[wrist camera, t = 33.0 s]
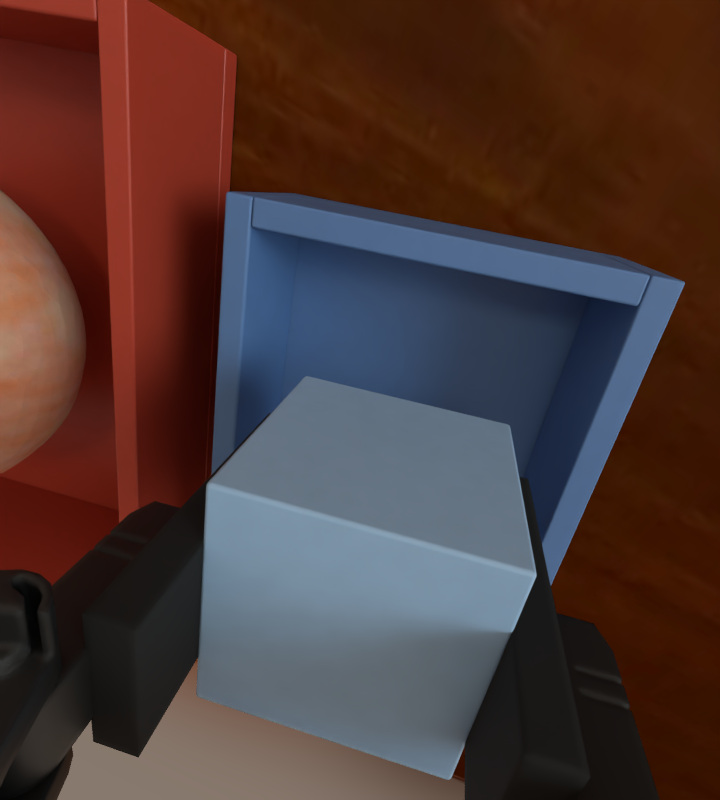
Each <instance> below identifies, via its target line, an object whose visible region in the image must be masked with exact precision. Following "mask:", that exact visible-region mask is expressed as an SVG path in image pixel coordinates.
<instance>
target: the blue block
mask: <svg viewBox="0 0 720 800" xmlns="http://www.w3.org/2000/svg"><path fill="white" fill-rule="evenodd" d="M536 576H537V574H536V568H535V562H534V557H533V551H532V546H531V540H530V534H529V529H528V523H527V518H526V512H525V507H524V501H523V496H522V490H521V484H520V479H519V473H518V468H517V462H516V457H515V451H514V446H513V440H512V434H511V429H510V426H509V425H508V424H504V423H500V422H496V421H491V420H487V419H483V418H479V417H475V416H471V415H467V414H462V413H458V412H454V411H450V410H446V409H442V408H438V407H433V406H429V405H425V404H421V403H417V402H413V401H408V400H404V399H400V398H396V397H392V396H388V395H384V394H379V393H375V392H371V391H367V390H363V389H359V388H355V387H350V386H346V385H342V384H338V383H334V382H330V381H325V380H321V379H317V378H313V377H309V376H305V377H304V378H303V379H302V380H301V381H300V383H299V384H298V385H297V386H296V387H295V388H294V389H293V390H292V391H291V392H290V393H289V395H288V396H287V397H286V398H285V399H284V400H283V401H282V402H281V403H280V404H279V405H278V406H277V408H276V409H275V410H274V411H273V412H272V413H271V414H270V415H269V416H268V417H267V418H266V420H265V421H264V422H263V423H262V424H261V425H260V426H259V427H258V428H257V429H256V430H255V432H254V433H253V434H252V435H251V436H250V437H249V438H248V439H247V440H246V441H245V442H244V444H243V445H242V446H241V447H240V448H239V449H238V450H237V451H236V452H235V453H234V454H233V456H232V457H231V458H230V459H229V460H228V461H227V462H226V463H225V464H224V465H223V466H222V467H221V469H220V470H219V471H218V472H217V473H216V474H215V475H214V476H213V477H212V478H211V479H210V481H209V482H208V483H207V485H206V502H205V523H204V544H203V565H202V586H201V607H200V628H199V649H198V670H197V691H196V694H197V696H198V697H200V698H203V699H206V700H209V701H212V702H215V703H218V704H221V705H224V706H227V707H230V708H233V709H236V710H239V711H242V712H245V713H248V714H251V715H254V716H257V717H260V718H263V719H266V720H269V721H272V722H275V723H278V724H281V725H284V726H287V727H290V728H293V729H296V730H299V731H302V732H305V733H308V734H311V735H314V736H317V737H320V738H323V739H326V740H329V741H332V742H335V743H338V744H341V745H345V746H347V747H350V748H353V749H356V750H359V751H362V752H365V753H368V754H371V755H374V756H377V757H380V758H384V759H386V760H389V761H393V762H396V763H399V764H402V765H405V766H408V767H411V768H414V769H417V770H420V771H423V772H426V773H429V774H432V775H435V776H438V777H441V778H444V779H451V777H452V775H453V772H454V770H455V768H456V765H457V763H458V761H459V758H460V756H461V753H462V751H463V749H464V746H465V742H466V740H467V737H468V735H469V732H470V730H471V728H472V725H473V723H474V721H475V718H476V716H477V713H478V711H479V709H480V706H481V704H482V702H483V699H484V697H485V695H486V692H487V690H488V687H489V685H490V683H491V680H492V678H493V676H494V673H495V671H496V668H497V666H498V664H499V661H500V659H501V657H502V654H503V652H504V649H505V647H506V645H507V642H508V640H509V638H510V635H511V633H512V632H513V630H514V628H515V626H516V623H517V621H518V619H519V616H520V614H521V612H522V609H523V607H524V605H525V602H526V600H527V597H528V595H529V593H530V590H531V588H532V586H533V583H534V581H535V579H536Z"/></svg>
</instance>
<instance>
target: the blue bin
mask: <svg viewBox="0 0 720 800" xmlns="http://www.w3.org/2000/svg"><path fill="white" fill-rule="evenodd" d="M684 284H685V282H683V281H681V280H679V279H676V278H674V277H671V276H668V275H666V274H663V273H661V272H658V271H655V270H653V269H650V268H648V267H645V266H643V265H640V264H637V263H635V262H632V261H630V260H626V259H624V258H621V257H618V256H613V255H608V254H603V253H597V252H592V251H587V250H582V249H577V248H572V247H567V246H562V245H556V244H551V243H546V242H541V241H536V240H531V239H526V238H520V237H515V236H510V235H505V234H500V233H495V232H490V231H485V230H479V229H474V228H469V227H464V226H459V225H454V224H449V223H443V222H438V221H433V220H428V219H423V218H418V217H413V216H408V215H402V214H397V213H392V212H387V211H382V210H377V209H372V208H366V207H361V206H356V205H351V204H346V203H341V202H336V201H331V200H325V199H320V198H315V197H310V196H305V195H300V194H295V193H266V192H227V193H226V203H225V222H224V241H223V261H222V280H221V299H220V318H219V337H218V357H217V376H216V395H215V414H214V433H213V452H212V472H211V475H212V474H213V473H214V472H215V471H216V469H217V468H218V467H219V466H220V465H221V464H222V463H223V462H224V461H225V460H226V459H227V458H228V457H229V455H230V454H231V453H232V452H233V451H234V450H235V449H236V448H237V447H238V446H239V445H240V444H241V443H242V442H243V440H244V439H245V438H246V437H247V436H248V435H249V434H250V433H251V432H252V431H253V430H254V429H255V428H256V427H257V425H258V424H259V423H260V422H261V421H262V420H263V419H264V418H265V417H266V416H267V415H268V414H269V413H270V414H271V413H272V412H273V411H274V410H275V409H276V408H277V406H278V405H279V404H280V403H281V402H282V401H283V400H284V399H285V398H286V397H287V396H288V395H289V393H290V392H291V391H292V390H293V389H294V388H295V387H296V386H297V385H298V384H299V383H300V381H301V380H302V379H303V378H304V377H305V376H309V377H313V378H317V379H321V380H325V381H330V382H334V383H338V384H342V385H346V386H350V387H355V388H359V389H363V390H367V391H371V392H375V393H379V394H384V395H388V396H392V397H396V398H400V399H404V400H408V401H413V402H417V403H421V404H425V405H429V406H433V407H438V408H442V409H446V410H450V411H454V412H458V413H462V414H467V415H471V416H475V417H479V418H483V419H487V420H491V421H496V422H500V423H504V424H508V425H509V426H510V429H511V434H512V440H513V446H514V451H515V457H516V462H517V468H518V473H519V477H523V478H527V479H528V480H529V485H530V489H531V494H532V499H533V504H534V509H535V513H536V518H537V523H538V528H539V533H540V537H541V542H542V547H543V552H544V557H545V561H546V566H547V571H548V576H549V581H550V585H551V584H552V582H553V580H554V577H555V575H556V573H557V571H558V568H559V566H560V564H561V562H562V559H563V557H564V555H565V553H566V550H567V548H568V546H569V544H570V541H571V539H572V537H573V535H574V532H575V530H576V528H577V526H578V523H579V521H580V519H581V517H582V514H583V512H584V510H585V508H586V505H587V503H588V501H589V499H590V496H591V494H592V492H593V489H594V487H595V485H596V483H597V480H598V478H599V476H600V474H601V471H602V469H603V467H604V465H605V462H606V460H607V458H608V456H609V453H610V451H611V449H612V447H613V444H614V442H615V440H616V438H617V435H618V433H619V431H620V429H621V426H622V424H623V422H624V420H625V417H626V415H627V413H628V411H629V408H630V406H631V404H632V402H633V399H634V397H635V395H636V393H637V390H638V388H639V386H640V384H641V381H642V379H643V377H644V374H645V372H646V370H647V368H648V365H649V363H650V361H651V359H652V356H653V354H654V352H655V350H656V347H657V345H658V343H659V341H660V338H661V336H662V334H663V332H664V329H665V327H666V325H667V323H668V320H669V318H670V316H671V314H672V311H673V309H674V307H675V305H676V302H677V300H678V298H679V296H680V293H681V291H682V289H683V287H684Z"/></svg>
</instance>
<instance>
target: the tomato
mask: <svg viewBox="0 0 720 800" xmlns="http://www.w3.org/2000/svg"><path fill="white" fill-rule="evenodd" d="M85 360H86V332H85V324H84V318H83V313H82V309H81V305H80V302H79V299H78V296H77V293H76V290H75V287H74V285H73V283H72V280H71V278H70V276H69V274H68V272H67V269H66V268H65V266H64V264H63V263H62V261H61V259H60V258H59V256H58V254H57V252H56V251H55V249H54V247H53V246H52V245H51V243H50V242H49V241H48V239H47V238H46V237H45V235H44V234H43V233H42V231H41V230H40V229H39V228H38V226H37V225H36V224H35V223H34V221H33V220H32V219H31V218H30V217H29V216H28V215H27V214H26V213H25V212H24V211H23V210H22V209H21V208H20V207H19V206H18V205H17V204H16V203H15V202H14V201H13V200H12V199H11V198H10V197H8V196H7V195H6V194H5V193H4V192H2V191H1V190H0V474H1V473H3V472H5V471H7V470H8V469H10V468H12V467H13V466H15V465H17V464H18V463H19V462H21V461H22V460H24V459H25V458H26V457H28V456H29V455H30V454H32V453H33V452H34V451H35V450H37V449H38V448H39V447H40V446H41V445H43V444H44V443H45V442H46V441H47V440H48V439H49V438H50V437H51V436H52V435H53V434H54V433H55V431H56V430H57V429H58V428H59V427H60V425H61V424H62V423H63V422H64V420H65V419H66V417H67V416H68V414H69V413H70V411H71V409H72V407H73V404H74V402H75V400H76V398H77V395H78V391H79V388H80V385H81V381H82V376H83V371H84V366H85Z"/></svg>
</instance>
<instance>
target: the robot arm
mask: <svg viewBox="0 0 720 800" xmlns="http://www.w3.org/2000/svg"><path fill="white" fill-rule="evenodd" d="M269 415H270V413H269V414H268V415H267V416H266V417H265V418H264V419H263V420H262V421H261V422H260V423H259V424H258V425H257V427H256V428H255V429H254V430H253V431H252V432H251V433H250V434H249V435H248V436H247V437H246V438H245V439H244V440H243V442H242V443H241V444H240V445H239V446H238V447H237V448H236V449H235V450H234V451H233V452H232V453H231V454H230V455H229V457H228V458H227V459H226V460H225V461H224V462H223V463H222V464H221V465H220V466H219V467H218V468H217V469H216V471H215V472H214V473H213V474H212V475H211V476H210V477H209V478H208V479H207V480H206V481H205V482H204V483H203V484H202V486H201V487H200V488H199V489H198V490H197V491H196V492H195V493H194V494H193V495H192V496H191V497H190V498H189V500H188V501H187V502H186V503H185V504H184V505H183V506H182V507H181V508H179V507H175V506H172V505H168V504H164V503H161V502H157V501H154V502H152V503H150V504H148V505H146V506H144V507H142V508H140V509H137V510H135V511H133V512H131V513H130V514H128V515H127V516H126V517H125V518H124V519H123V520H122V521H121V522H120V523H119V524H118V525H117V526H115V527H114V528H113V529H112V530H111V533H110V534H109V535H108V534H107V535H106V536H105V537H104V538H103V539H101V540H100V541H99V542H98V543H97V544H96V545H95V547H94V549H93V550H90V551H89V552H87V553H86V554H85V555H84V556H83V557H82V558H81V559H80V560H79V561H78V562H77V563H76V564H75V565H73V566H72V567H71V568H70V569H69V570H68V571H67V572H66V573H65V574H64V575H63V576H62V577H61V578H59V579H58V580H57V581H56V582H55V583H54V584H53V585H52V586H51V583H50V582H49V581H48V580H47V579H45V578H44V577H43V576H42V575H41V574H39V573H35V572H31V571H28V570H24V569H14V570H0V800H57V798H58V796H59V793H60V791H61V789H62V787H63V784H64V781H65V780H66V778H67V775H68V773H69V769H70V765H71V761H72V757H73V751H72V745H73V744H74V743H75V741H76V740H77V738H78V737H79V736H80V734H81V733H82V732H83V730H84V729H85V727H86V726H87V725H88V723H89V722H90V721H91V720H92V731H93V741H94V742H96V743H99V744H102V745H105V746H108V747H111V748H113V749H116V750H119V751H122V752H125V753H128V754H130V755H133V756H136V757H139V755H140V754H141V752H142V751H143V749H144V747H145V745H146V744H147V742H148V740H149V739H150V737H151V735H152V734H153V732H154V730H155V729H156V727H157V725H158V723H159V722H160V720H161V718H162V717H163V715H164V713H165V712H166V710H167V708H168V706H169V705H170V703H171V701H172V699H173V698H174V696H175V695H176V693H177V691H178V690H179V688H180V686H181V685H182V683H183V681H184V679H185V678H186V676H187V674H188V673H189V671H190V669H191V668H192V666H193V664H194V663H195V661H196V659H197V658H198V649H199V628H200V607H201V586H202V565H203V544H204V523H205V502H206V485H207V483H208V482H209V481H210V479H211V478H212V477H213V476H214V475H215V474H216V473H217V472H218V471H219V470H220V469H221V467H222V466H223V465H224V464H225V463H226V462H227V461H228V460H229V459H230V458H231V457H232V456H233V454H234V453H235V452H236V451H237V450H238V449H239V448H240V447H241V446H242V445H243V444H244V442H245V441H246V440H247V439H248V438H249V437H250V436H251V435H252V434H253V433H254V432H255V430H256V429H257V428H258V427H259V426H260V425H261V424H262V423H263V422H264V421H265V420H266V418H267V417H268V416H269ZM519 479H520V484H521V490H522V496H523V501H524V507H525V512H526V518H527V523H528V529H529V534H530V540H531V546H532V551H533V557H534V562H535V568H536V574H537V576H536V579H535V581H534V583H533V586H532V588H531V590H530V593H529V595H528V597H527V600H526V602H525V605H524V607H523V609H522V612H521V614H520V616H519V619H518V621H517V623H516V626H515V628H514V630H513V632H512V633H511V635H510V638H509V640H508V642H507V645H506V647H505V649H504V652H503V654H502V657H501V659H500V661H499V664H498V666H497V668H496V671H495V673H494V676H493V678H492V680H491V683H490V685H489V687H488V690H487V692H486V695H485V697H484V699H483V702H482V704H481V706H480V709H479V711H478V713H477V716H476V718H475V721H474V723H473V725H472V728H471V730H470V732H469V735H468V737H467V740H466V742H465V800H659V796H658V793H657V790H656V787H655V784H654V781H653V777H652V774H651V771H650V768H649V765H648V762H647V758H646V755H645V752H644V749H643V746H642V743H641V739H640V736H639V733H638V730H637V727H636V724H635V720H634V717H633V714H632V711H629V705H630V704H629V701H628V698H627V695H626V692H625V689H624V686H622V685H621V681H622V679H621V676H620V673H619V670H618V666H617V663H616V660H615V657H614V654H613V651H612V649H611V648H610V647H609V645H608V644H607V642H606V641H605V640H604V638H603V637H602V635H601V634H600V632H599V631H598V630H597V628H596V627H595V625H594V624H593V623H589V622H586V621H582V620H579V619H575V618H572V617H568V616H565V615H561V614H558V613H556V609H555V605H554V600H553V595H552V590H551V585H550V581H549V576H548V571H547V566H546V561H545V557H544V552H543V547H542V542H541V537H540V533H539V528H538V523H537V518H536V513H535V509H534V504H533V499H532V494H531V489H530V485H529V480H528V479H527V478H523V477H519Z"/></svg>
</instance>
